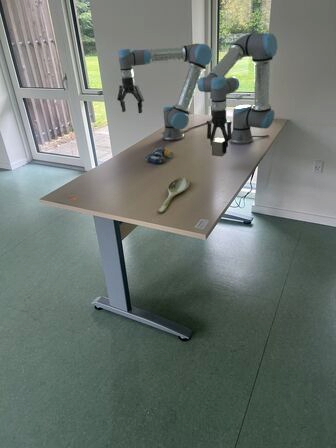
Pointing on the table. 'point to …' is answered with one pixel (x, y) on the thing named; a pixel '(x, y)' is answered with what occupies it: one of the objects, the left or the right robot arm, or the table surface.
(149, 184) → the table surface
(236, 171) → the table surface
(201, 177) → the table surface
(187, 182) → the spoon
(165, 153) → the blue toy gun
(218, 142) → the grey metal block
